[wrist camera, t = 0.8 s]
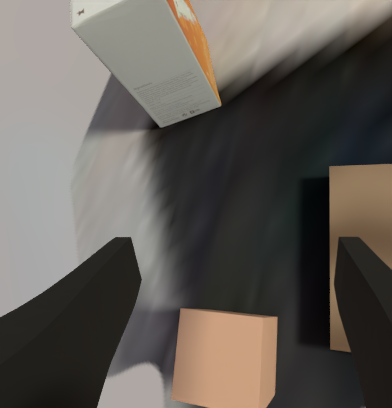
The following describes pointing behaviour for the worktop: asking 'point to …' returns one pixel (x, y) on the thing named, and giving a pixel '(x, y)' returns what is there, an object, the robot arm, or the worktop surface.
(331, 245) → the tan board
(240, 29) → the worktop surface
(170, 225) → the worktop surface
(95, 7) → the small box
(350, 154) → the worktop surface
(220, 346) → the terracotta block
